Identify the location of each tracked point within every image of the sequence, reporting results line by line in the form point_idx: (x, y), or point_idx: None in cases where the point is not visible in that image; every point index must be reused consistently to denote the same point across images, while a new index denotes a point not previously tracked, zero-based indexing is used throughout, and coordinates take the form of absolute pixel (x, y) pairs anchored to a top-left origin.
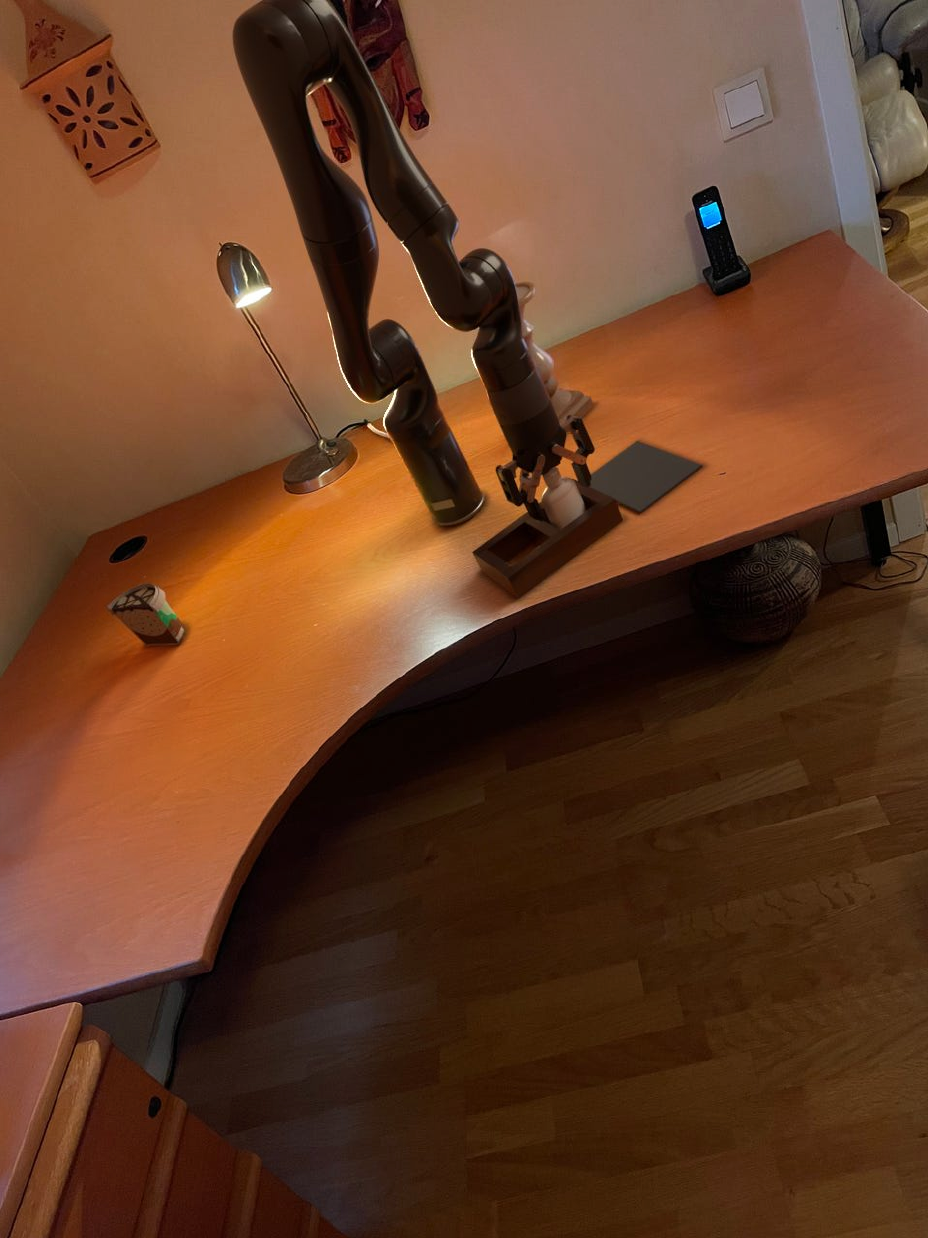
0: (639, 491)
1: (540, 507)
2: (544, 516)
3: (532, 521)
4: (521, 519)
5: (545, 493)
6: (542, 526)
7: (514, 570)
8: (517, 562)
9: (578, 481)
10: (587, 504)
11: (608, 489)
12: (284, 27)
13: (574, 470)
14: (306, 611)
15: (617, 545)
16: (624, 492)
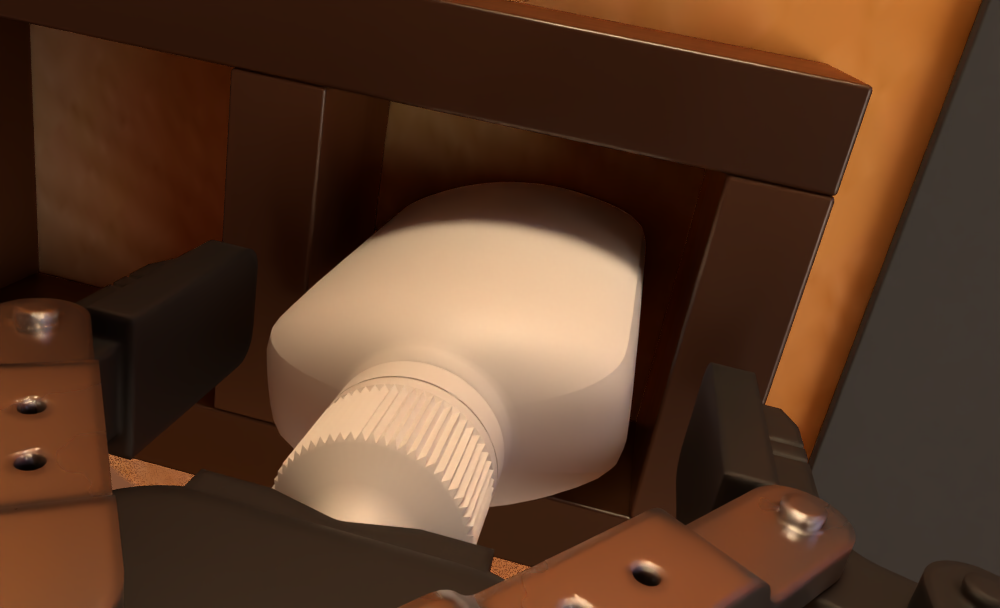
0: (963, 476)
1: (184, 411)
2: (235, 366)
3: (263, 142)
4: (237, 11)
5: (298, 389)
6: (259, 274)
7: None
8: None
9: (710, 372)
10: (671, 324)
11: (960, 242)
12: None
13: (713, 444)
14: None
15: (502, 573)
16: (939, 383)
